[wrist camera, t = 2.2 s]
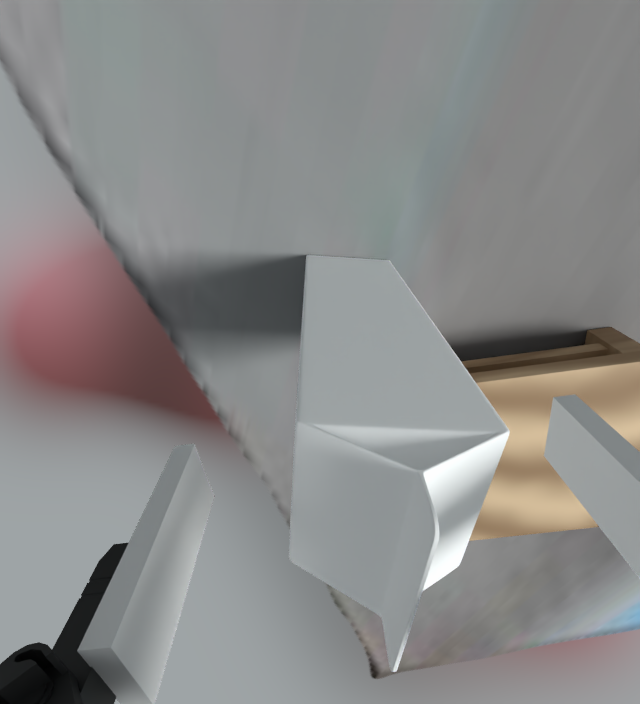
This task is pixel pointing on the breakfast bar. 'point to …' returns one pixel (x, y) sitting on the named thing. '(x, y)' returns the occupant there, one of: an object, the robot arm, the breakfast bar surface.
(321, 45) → the breakfast bar surface
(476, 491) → the milk
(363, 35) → the breakfast bar surface
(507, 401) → the light brown square platform
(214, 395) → the breakfast bar surface
